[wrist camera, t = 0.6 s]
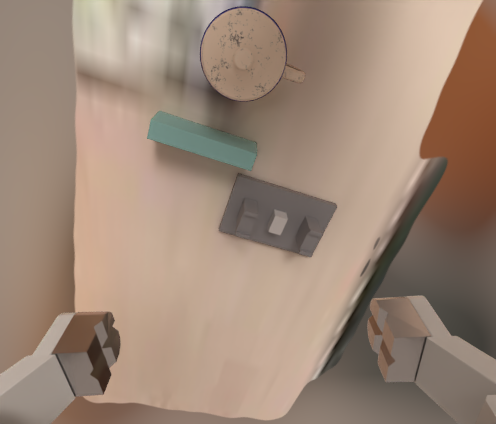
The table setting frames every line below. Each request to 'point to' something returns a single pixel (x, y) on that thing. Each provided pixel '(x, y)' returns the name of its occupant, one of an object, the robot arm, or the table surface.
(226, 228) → the display stand
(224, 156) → the frame bar
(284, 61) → the teacup with lid
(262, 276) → the table surface
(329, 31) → the table surface
